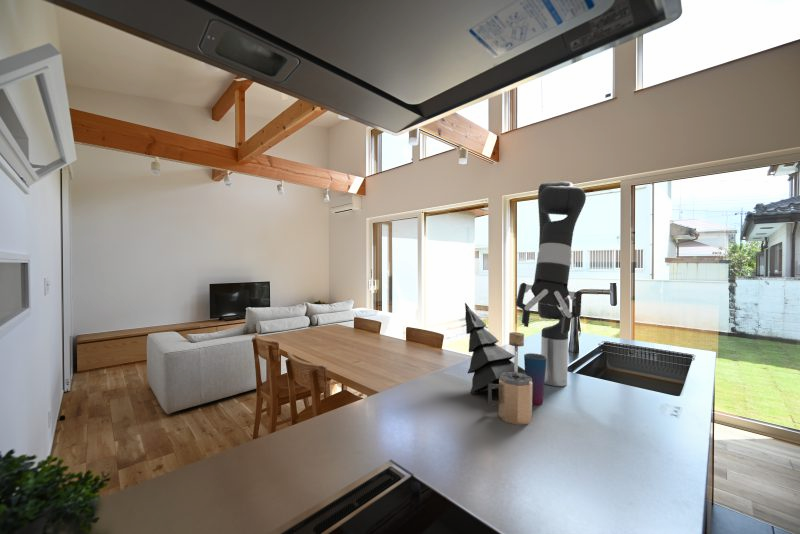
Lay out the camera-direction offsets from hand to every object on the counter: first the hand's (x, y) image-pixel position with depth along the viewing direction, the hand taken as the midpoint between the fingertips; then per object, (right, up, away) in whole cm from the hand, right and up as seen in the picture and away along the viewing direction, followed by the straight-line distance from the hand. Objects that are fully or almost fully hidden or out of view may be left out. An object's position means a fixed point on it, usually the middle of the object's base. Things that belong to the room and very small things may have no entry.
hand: (544, 330), depth 81 cm
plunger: (-1, -22, +18) cm, 29 cm away
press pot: (-2, -29, +18) cm, 34 cm away
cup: (+9, -29, +29) cm, 42 cm away
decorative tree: (-4, -29, +39) cm, 48 cm away
